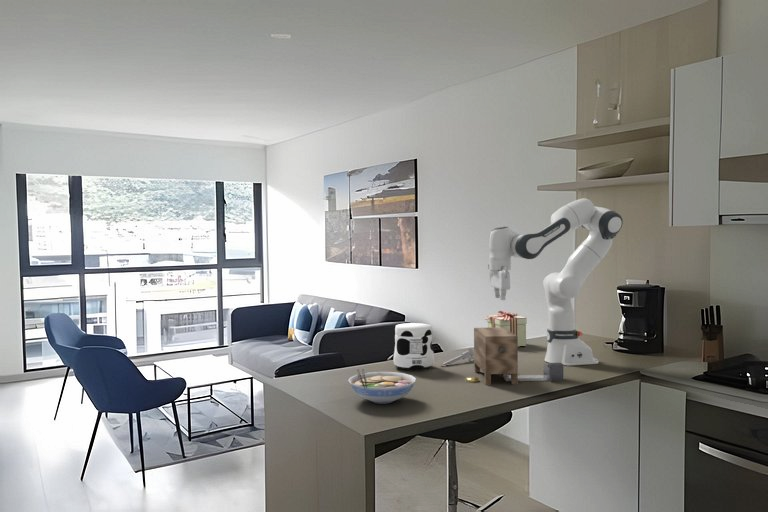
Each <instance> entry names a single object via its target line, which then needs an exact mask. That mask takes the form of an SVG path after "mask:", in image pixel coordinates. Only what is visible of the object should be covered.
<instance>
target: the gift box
mask: <svg viewBox="0 0 768 512" xmlns="http://www.w3.org/2000/svg"><path fill="white" fill-rule="evenodd" d="M497 313H499V314H494V315H493V314H492V315H490V314H489V315H486V318H485V319H484V320H485V321H487V328H494V327H503V328H505V329H507V330H508V331H510V332H512V333H513V334H515V335H517V336H518V346H526V347H527V317H525V316H522V315H518V314H517V313H515V312H514V313H513V312H506V311H503V310H499V311H497Z"/></svg>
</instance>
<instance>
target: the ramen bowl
mask: <svg viewBox="0 0 768 512" xmlns="http://www.w3.org/2000/svg"><path fill="white" fill-rule="evenodd" d="M356 372H357V374H355V375H353V376H351V377H349V379H347V381H348V383H349V385H350V386H351V388H352V390H353V391H354V392H355V393H356V394H357V396H359V397H360V398H362V399H365V400H367V401H370V402H371V403H374V404H377V405H378V404H379V405H381V404H383V405H385V404H391V403H393V402H394V401H397V400H401V399H402V398H404V397H406V396H407V395H408V394H409V393H410V392H411V390H412V389H413V388H414V385H415V383H416V381H417V378H416V377H415V376H413V375H412V374H411V375H410V374H407V373H403V372H397V371H396V372H395V371H394V372H393V371H372V372H365V369H364V368H363V369H361V371H360V369H359V368H358V369H356ZM361 372H362V373H361Z"/></svg>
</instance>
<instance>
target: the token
mask: <svg viewBox="0 0 768 512" xmlns="http://www.w3.org/2000/svg"><path fill="white" fill-rule="evenodd" d="M467 381H468V382H467ZM477 381H480V378H479V376H478V377H477V376H467V377H465V382H467V383H478V382H477Z"/></svg>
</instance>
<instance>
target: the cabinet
mask: <svg viewBox="0 0 768 512" xmlns="http://www.w3.org/2000/svg"><path fill="white" fill-rule="evenodd" d="M518 348H519V347H518V336H517V335H515V334H513V333H512V332H510V331H508V330H507V329H505V328H503V327H494V328H488V327H473V352H474V360H473V372H474V371H475V372H480V373H481V371H482V372H483V373H484V385H486V386H491V385H492V375H503V374H508V375H511V381H510V384H511V385H518V384H519V382H518V375H519V373H518V371H519V369H518V366H519V361H518V359H519V357H518V350H519V349H518ZM475 372H474V373H475Z"/></svg>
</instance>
